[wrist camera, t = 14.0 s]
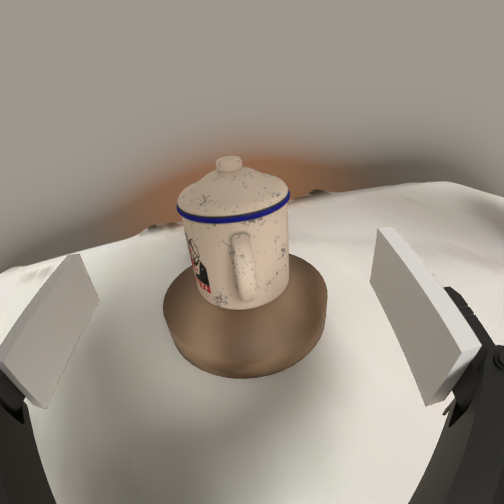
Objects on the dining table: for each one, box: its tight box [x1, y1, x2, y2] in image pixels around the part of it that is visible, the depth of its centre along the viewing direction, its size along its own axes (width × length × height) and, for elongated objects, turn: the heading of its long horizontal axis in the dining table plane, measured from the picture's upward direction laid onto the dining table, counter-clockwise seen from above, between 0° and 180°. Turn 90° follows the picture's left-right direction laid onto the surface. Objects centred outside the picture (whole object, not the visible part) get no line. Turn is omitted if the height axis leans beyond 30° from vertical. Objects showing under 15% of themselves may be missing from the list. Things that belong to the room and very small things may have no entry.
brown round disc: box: [163, 254, 327, 378], centre depth 27 cm, size 15×15×3 cm
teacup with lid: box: [177, 156, 290, 310], centre depth 23 cm, size 12×9×12 cm
